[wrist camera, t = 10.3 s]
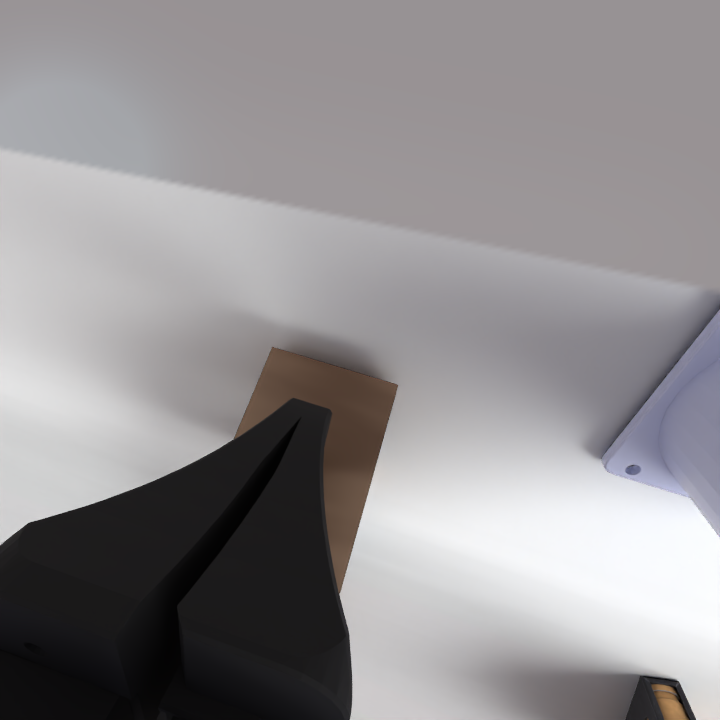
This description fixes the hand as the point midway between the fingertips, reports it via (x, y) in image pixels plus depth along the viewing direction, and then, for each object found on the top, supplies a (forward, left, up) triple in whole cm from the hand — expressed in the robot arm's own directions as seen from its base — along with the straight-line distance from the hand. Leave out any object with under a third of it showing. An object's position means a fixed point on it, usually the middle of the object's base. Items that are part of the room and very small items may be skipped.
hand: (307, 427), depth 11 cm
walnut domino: (0, 0, -3) cm, 3 cm away
